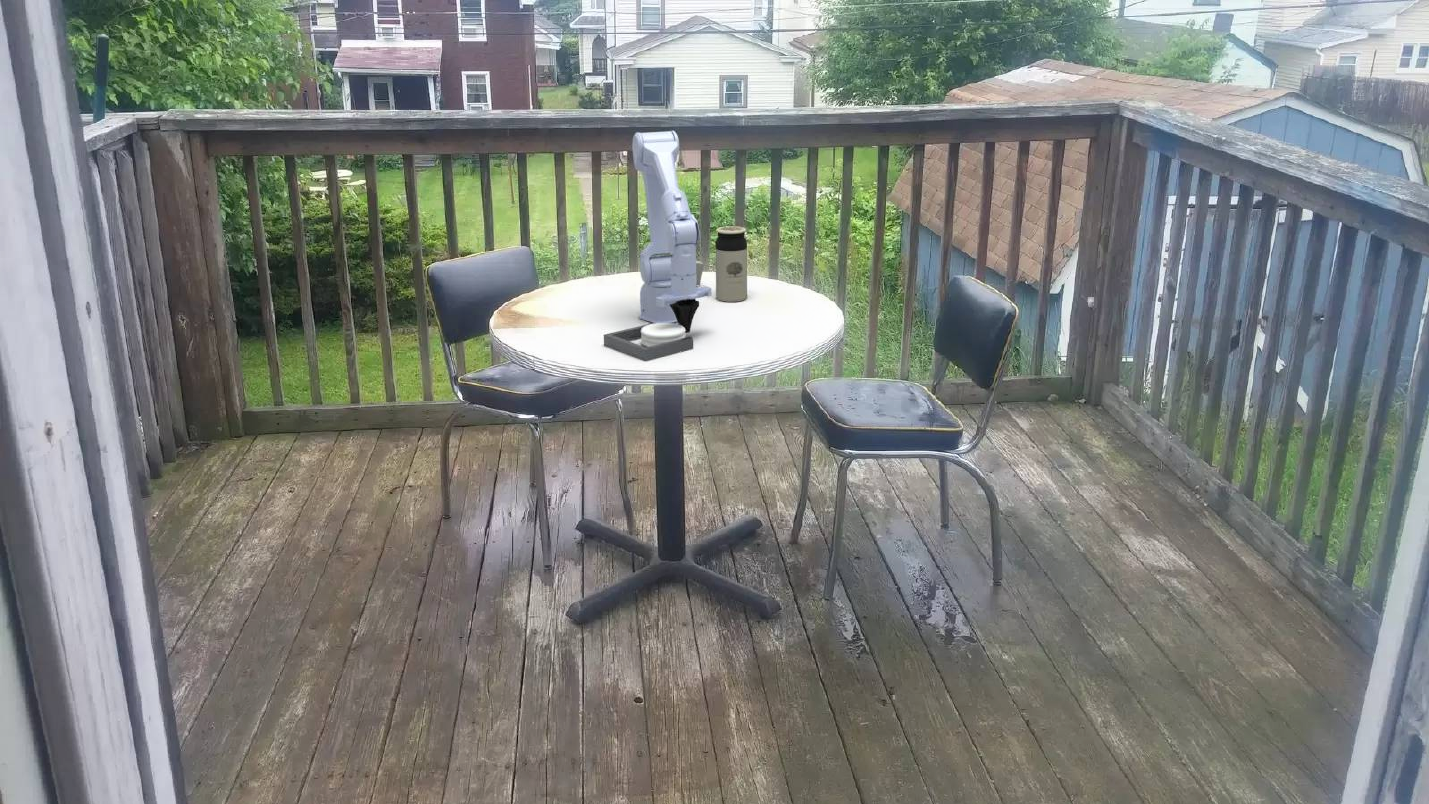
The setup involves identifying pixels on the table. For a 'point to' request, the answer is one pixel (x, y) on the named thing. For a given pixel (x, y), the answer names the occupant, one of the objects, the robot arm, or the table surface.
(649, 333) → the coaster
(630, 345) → the frame
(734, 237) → the travel mug
